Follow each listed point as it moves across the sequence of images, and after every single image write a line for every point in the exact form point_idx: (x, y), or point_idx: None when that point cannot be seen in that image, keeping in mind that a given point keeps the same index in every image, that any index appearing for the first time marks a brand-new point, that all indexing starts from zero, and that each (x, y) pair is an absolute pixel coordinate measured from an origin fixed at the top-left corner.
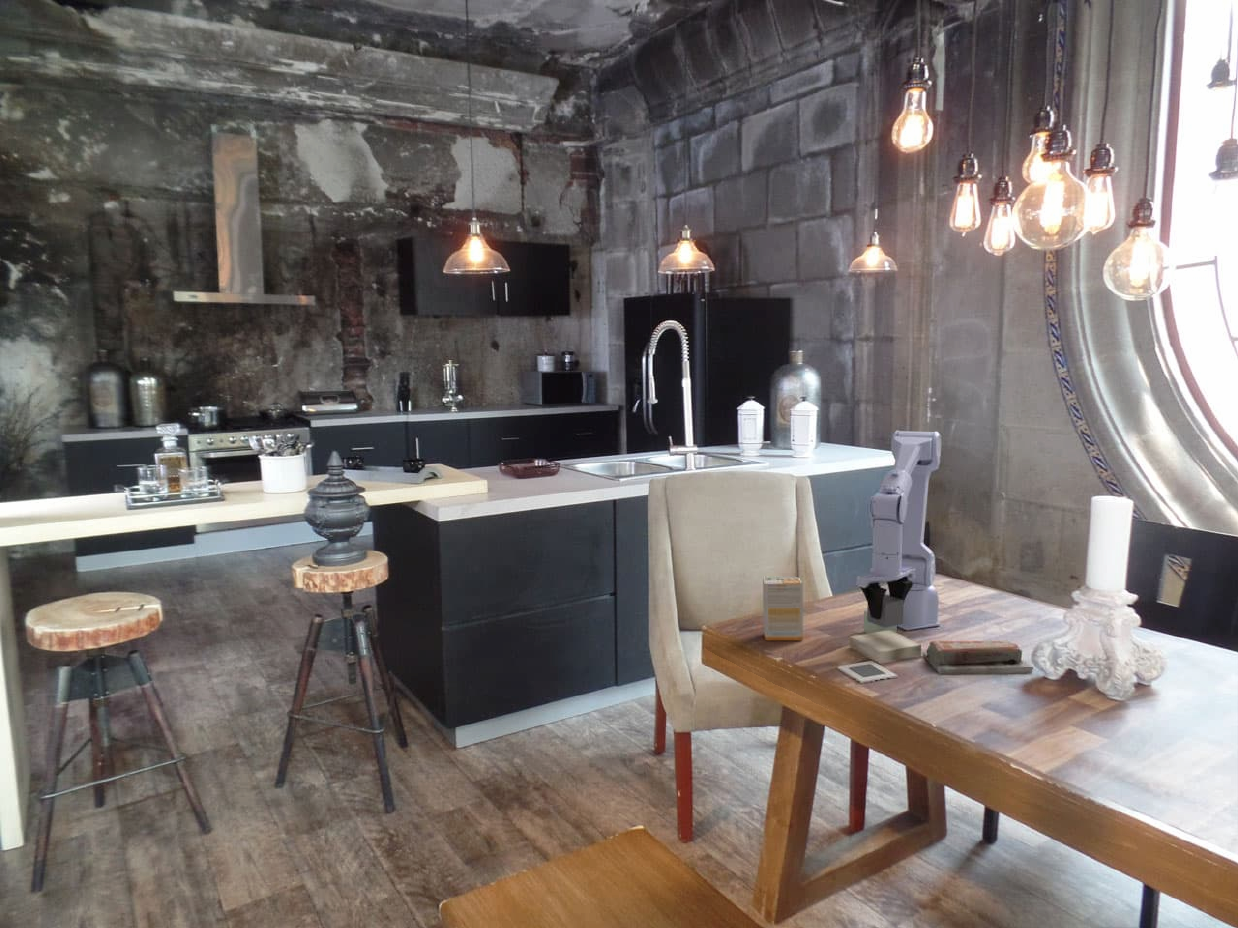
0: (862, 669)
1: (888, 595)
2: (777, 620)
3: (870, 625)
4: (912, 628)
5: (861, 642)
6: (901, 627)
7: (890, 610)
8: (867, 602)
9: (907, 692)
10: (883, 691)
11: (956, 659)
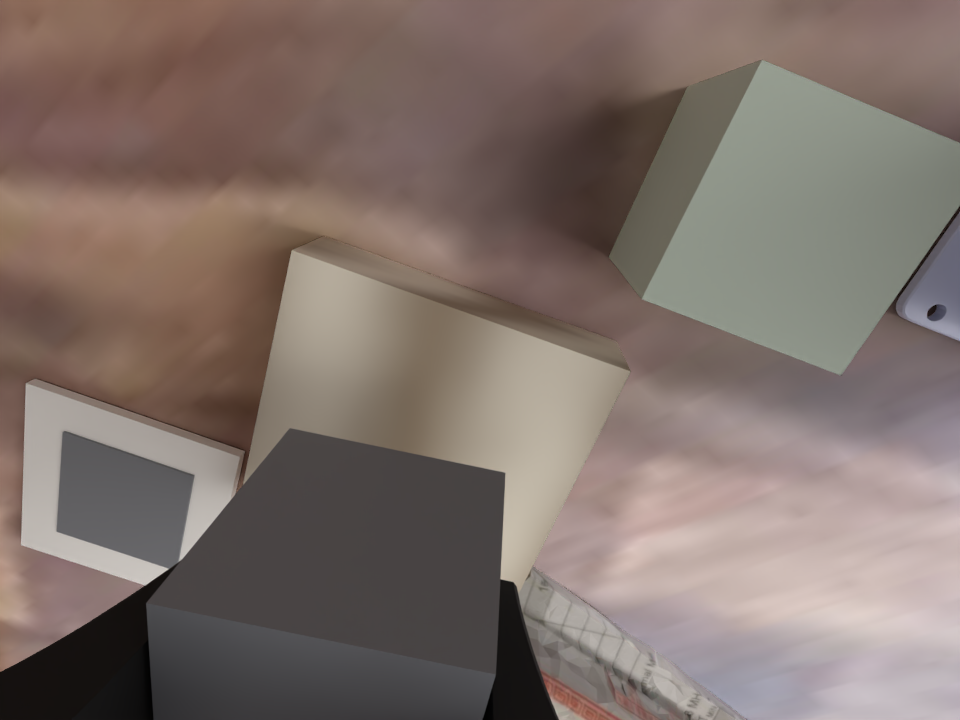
0: (111, 486)
1: (473, 717)
2: None
3: (665, 178)
4: (943, 334)
5: (267, 371)
6: (925, 266)
7: None
8: (94, 619)
9: None
10: (61, 623)
11: None
